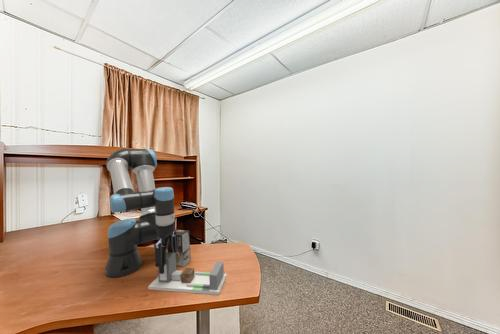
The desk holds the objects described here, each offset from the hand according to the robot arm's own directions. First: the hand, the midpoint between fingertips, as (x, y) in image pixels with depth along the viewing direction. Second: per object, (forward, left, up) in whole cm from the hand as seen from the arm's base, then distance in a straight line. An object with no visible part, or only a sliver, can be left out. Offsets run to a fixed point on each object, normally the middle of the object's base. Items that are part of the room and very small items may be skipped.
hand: (167, 275), depth 86 cm
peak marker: (+9, 0, -1) cm, 10 cm away
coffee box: (-2, +15, -3) cm, 15 cm away
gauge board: (+10, 0, -3) cm, 10 cm away
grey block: (+2, 0, -1) cm, 2 cm away
